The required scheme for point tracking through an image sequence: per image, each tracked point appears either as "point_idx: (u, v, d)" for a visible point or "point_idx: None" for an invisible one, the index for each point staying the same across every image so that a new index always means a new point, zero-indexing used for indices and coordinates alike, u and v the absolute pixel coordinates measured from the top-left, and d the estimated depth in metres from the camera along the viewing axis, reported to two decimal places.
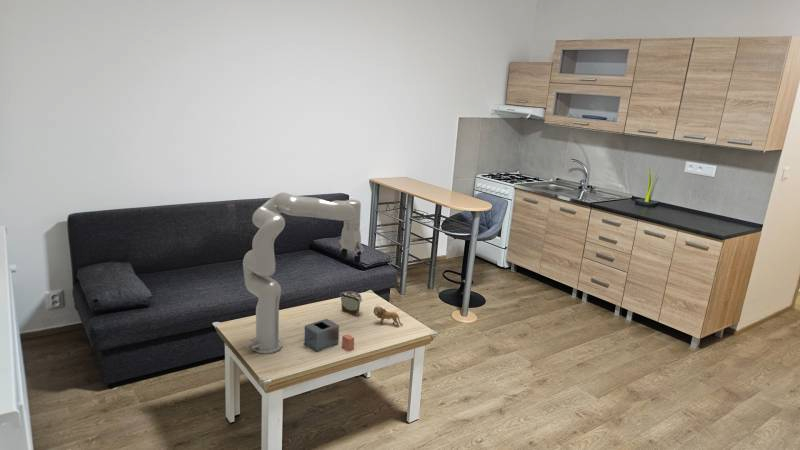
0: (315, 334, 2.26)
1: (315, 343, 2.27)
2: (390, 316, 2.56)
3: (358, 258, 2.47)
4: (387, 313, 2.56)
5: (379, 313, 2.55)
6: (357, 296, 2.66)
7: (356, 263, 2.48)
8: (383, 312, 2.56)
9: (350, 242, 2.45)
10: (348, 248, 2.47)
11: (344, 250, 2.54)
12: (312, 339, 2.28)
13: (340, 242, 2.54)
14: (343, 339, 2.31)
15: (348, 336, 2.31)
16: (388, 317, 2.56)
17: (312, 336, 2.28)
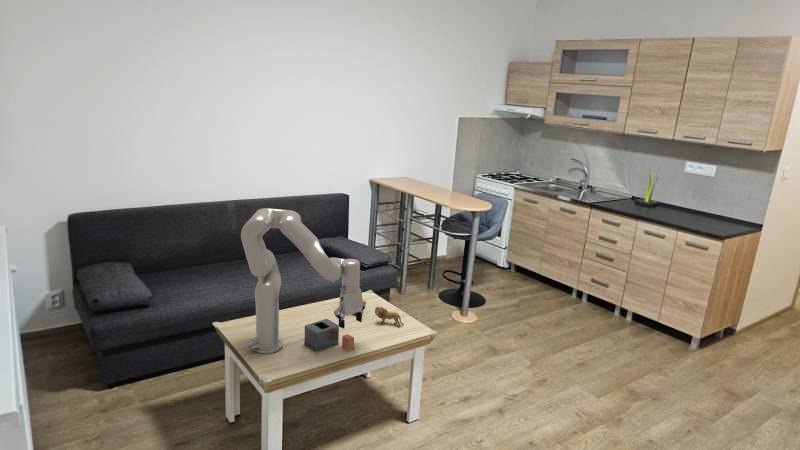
0: (315, 334, 2.26)
1: (315, 343, 2.27)
2: (391, 316, 2.56)
3: None
4: (388, 313, 2.56)
5: (380, 313, 2.55)
6: None
7: None
8: (385, 312, 2.56)
9: (359, 303, 2.27)
10: (357, 310, 2.27)
11: None
12: (312, 339, 2.28)
13: (338, 313, 2.22)
14: (343, 339, 2.31)
15: (348, 336, 2.31)
16: (389, 317, 2.56)
17: (312, 336, 2.28)
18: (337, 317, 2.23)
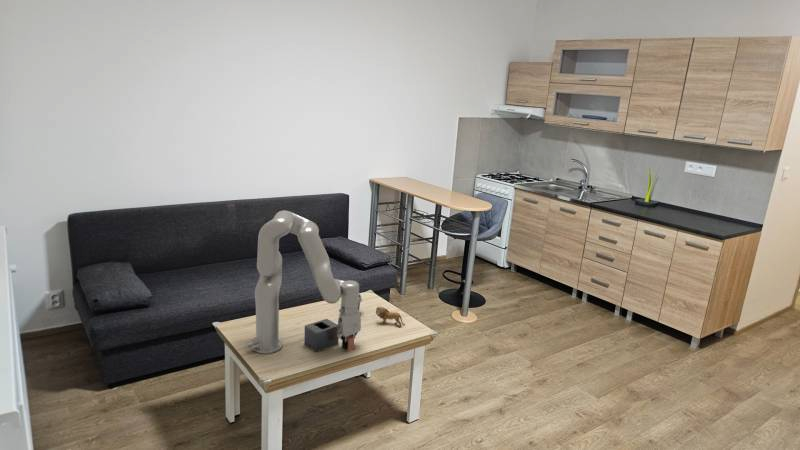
0: (315, 334, 2.26)
1: (315, 343, 2.27)
2: (392, 316, 2.55)
3: None
4: (389, 313, 2.56)
5: (381, 313, 2.55)
6: None
7: None
8: (386, 312, 2.56)
9: (357, 324, 2.29)
10: (355, 331, 2.29)
11: None
12: (312, 339, 2.28)
13: (340, 336, 2.27)
14: None
15: (348, 336, 2.31)
16: (390, 317, 2.56)
17: (312, 336, 2.28)
18: (341, 338, 2.28)
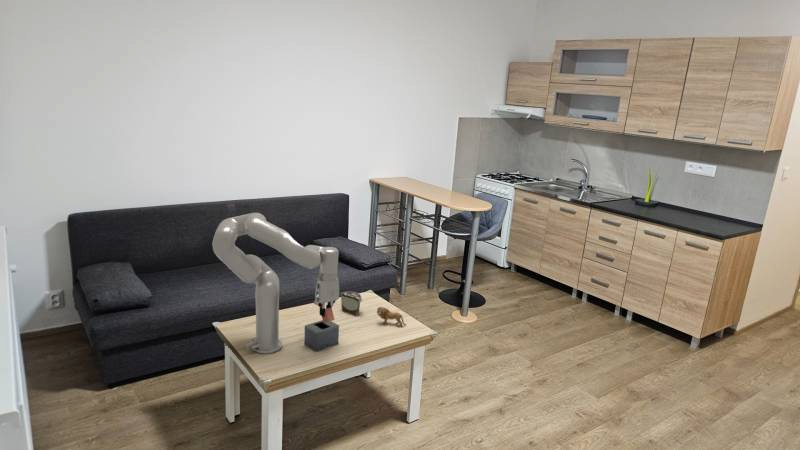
0: (315, 334, 2.26)
1: (315, 343, 2.27)
2: (394, 316, 2.55)
3: None
4: (391, 313, 2.56)
5: (383, 313, 2.55)
6: (357, 296, 2.66)
7: None
8: (387, 312, 2.56)
9: (335, 291, 2.27)
10: (333, 299, 2.27)
11: None
12: (312, 339, 2.28)
13: (318, 303, 2.25)
14: None
15: None
16: (392, 317, 2.56)
17: (312, 336, 2.28)
18: (318, 305, 2.26)
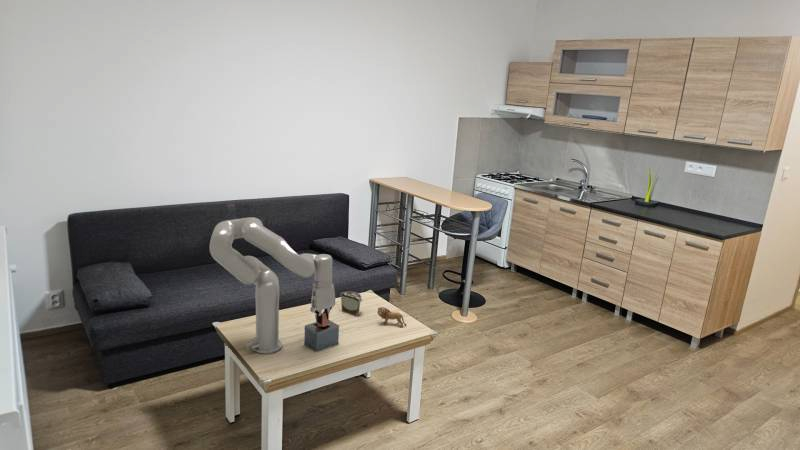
0: (315, 334, 2.26)
1: (315, 343, 2.27)
2: (394, 316, 2.55)
3: None
4: (391, 313, 2.56)
5: (383, 313, 2.55)
6: (357, 296, 2.66)
7: None
8: (387, 312, 2.56)
9: (331, 298, 2.29)
10: (329, 305, 2.29)
11: (320, 313, 2.29)
12: (312, 339, 2.28)
13: (314, 310, 2.26)
14: (316, 318, 2.32)
15: None
16: (392, 317, 2.56)
17: (312, 336, 2.28)
18: None
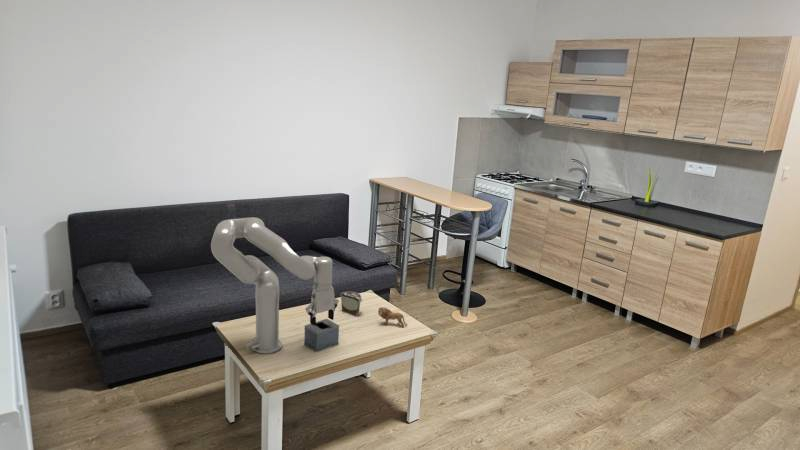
0: (315, 334, 2.26)
1: (315, 343, 2.27)
2: (395, 317, 2.55)
3: None
4: (392, 314, 2.56)
5: (384, 314, 2.55)
6: (357, 296, 2.66)
7: None
8: (388, 312, 2.56)
9: (331, 300, 2.29)
10: (329, 308, 2.29)
11: None
12: (312, 339, 2.28)
13: (309, 310, 2.24)
14: None
15: None
16: (393, 318, 2.56)
17: (312, 336, 2.28)
18: None
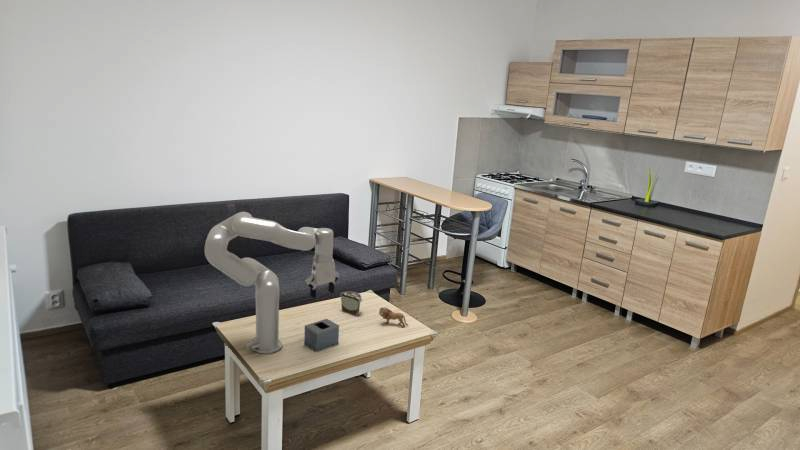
0: (315, 334, 2.26)
1: (315, 343, 2.27)
2: (396, 317, 2.55)
3: None
4: (393, 314, 2.56)
5: (385, 314, 2.55)
6: (357, 296, 2.66)
7: None
8: (389, 312, 2.56)
9: (331, 273, 2.26)
10: (329, 280, 2.26)
11: None
12: (312, 339, 2.28)
13: (309, 282, 2.21)
14: None
15: None
16: (394, 318, 2.56)
17: (312, 336, 2.28)
18: (308, 286, 2.22)
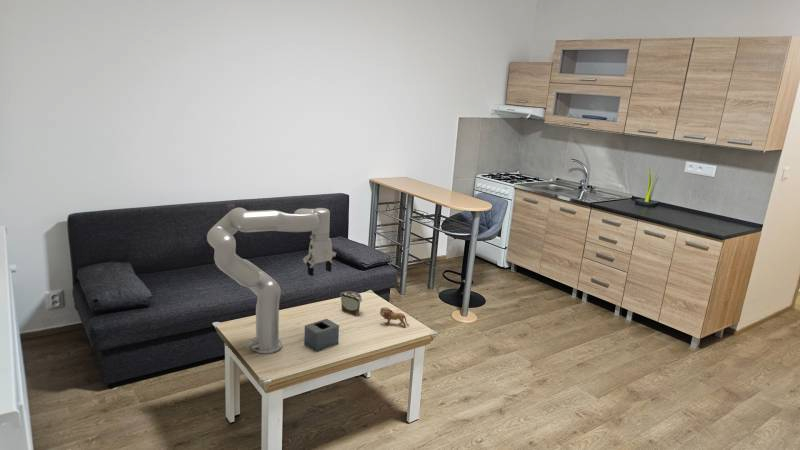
0: (315, 334, 2.26)
1: (315, 343, 2.27)
2: (397, 317, 2.55)
3: None
4: (394, 314, 2.56)
5: (386, 314, 2.55)
6: (357, 296, 2.66)
7: None
8: (390, 313, 2.56)
9: (328, 252, 2.32)
10: (326, 259, 2.32)
11: None
12: (312, 339, 2.28)
13: (307, 261, 2.27)
14: None
15: None
16: (395, 318, 2.55)
17: (312, 336, 2.28)
18: (306, 264, 2.29)
